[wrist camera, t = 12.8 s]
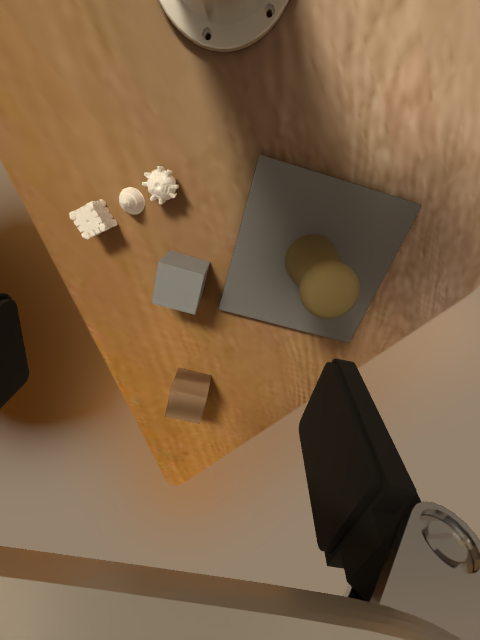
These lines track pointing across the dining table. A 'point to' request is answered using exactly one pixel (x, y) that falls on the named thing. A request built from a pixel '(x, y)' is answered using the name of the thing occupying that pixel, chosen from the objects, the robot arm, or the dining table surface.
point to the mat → (305, 219)
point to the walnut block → (188, 395)
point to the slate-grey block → (180, 282)
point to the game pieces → (124, 203)
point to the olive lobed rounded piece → (322, 277)
